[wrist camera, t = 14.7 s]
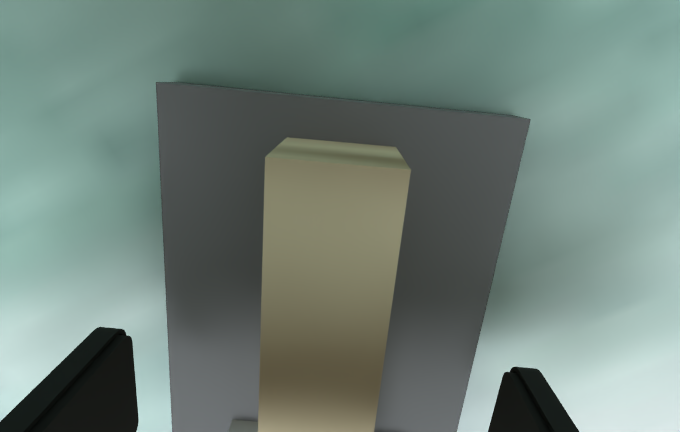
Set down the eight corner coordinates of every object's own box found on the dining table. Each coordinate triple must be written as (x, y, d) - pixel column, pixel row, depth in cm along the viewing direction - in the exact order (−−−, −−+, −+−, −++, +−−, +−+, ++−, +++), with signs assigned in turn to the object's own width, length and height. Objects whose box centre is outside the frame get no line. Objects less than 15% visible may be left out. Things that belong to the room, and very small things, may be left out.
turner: (232, 132, 11) (191, 150, 8) (450, 151, 11) (483, 176, 8) (232, 555, 17) (207, 653, 14) (379, 568, 17) (385, 668, 14)
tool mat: (174, 82, 12) (156, 82, 11) (513, 115, 12) (530, 119, 11) (190, 579, 19) (180, 611, 18) (405, 599, 19) (409, 632, 18)
